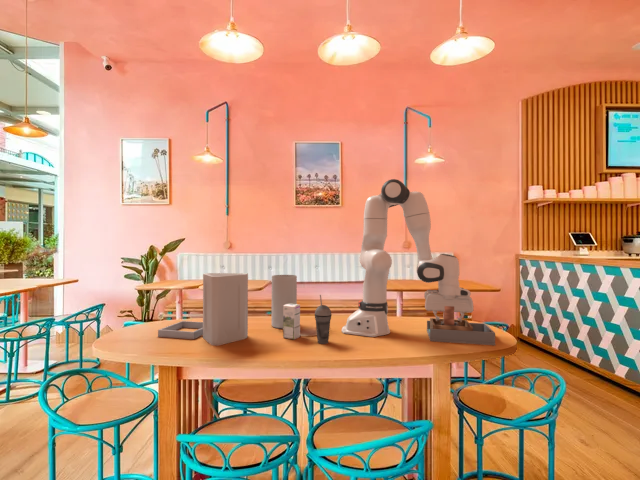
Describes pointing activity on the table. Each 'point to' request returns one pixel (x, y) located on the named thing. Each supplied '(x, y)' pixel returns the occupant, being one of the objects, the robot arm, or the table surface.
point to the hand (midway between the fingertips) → (448, 321)
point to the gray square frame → (171, 332)
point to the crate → (457, 325)
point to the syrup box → (291, 321)
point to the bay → (463, 335)
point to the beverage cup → (323, 323)
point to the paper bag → (225, 307)
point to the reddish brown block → (448, 315)
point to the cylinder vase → (282, 296)
